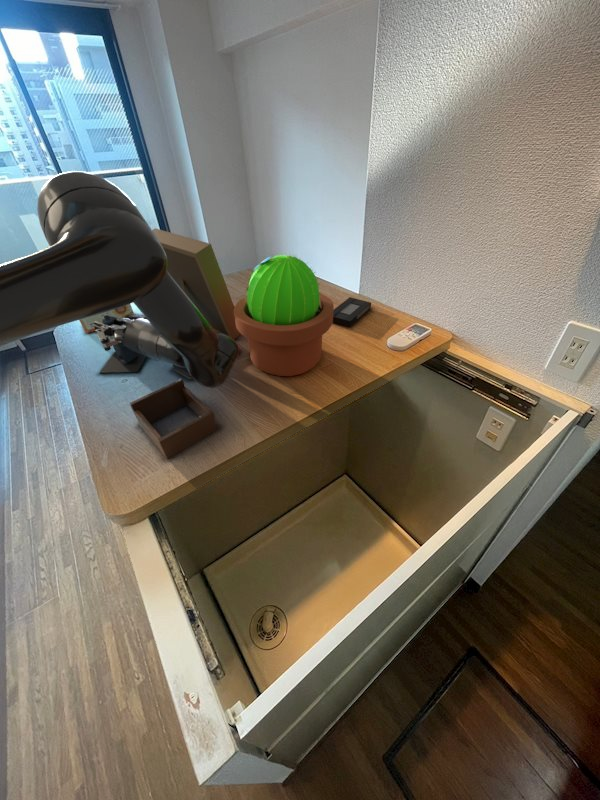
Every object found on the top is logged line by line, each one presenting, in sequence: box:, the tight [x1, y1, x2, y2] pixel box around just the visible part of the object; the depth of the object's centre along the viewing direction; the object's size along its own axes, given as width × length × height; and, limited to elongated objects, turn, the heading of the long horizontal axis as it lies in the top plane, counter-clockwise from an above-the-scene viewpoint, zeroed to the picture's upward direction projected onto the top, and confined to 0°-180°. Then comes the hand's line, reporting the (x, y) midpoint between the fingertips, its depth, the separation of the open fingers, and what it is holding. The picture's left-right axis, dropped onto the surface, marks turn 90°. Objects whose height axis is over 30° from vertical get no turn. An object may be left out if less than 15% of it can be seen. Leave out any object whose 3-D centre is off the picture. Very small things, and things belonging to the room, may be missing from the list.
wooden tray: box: [129, 378, 218, 459], centre depth 62 cm, size 12×11×6 cm
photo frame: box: [151, 227, 242, 341], centre depth 83 cm, size 15×22×25 cm
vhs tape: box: [332, 297, 372, 328], centre depth 98 cm, size 8×14×2 cm, turn 146°
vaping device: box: [102, 315, 138, 364], centre depth 78 cm, size 3×5×12 cm, turn 160°
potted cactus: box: [234, 252, 335, 377], centre depth 74 cm, size 22×22×25 cm
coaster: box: [99, 351, 148, 375], centre depth 81 cm, size 9×9×1 cm
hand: (101, 322), depth 75 cm, fingers closed on vaping device, 2 cm apart
